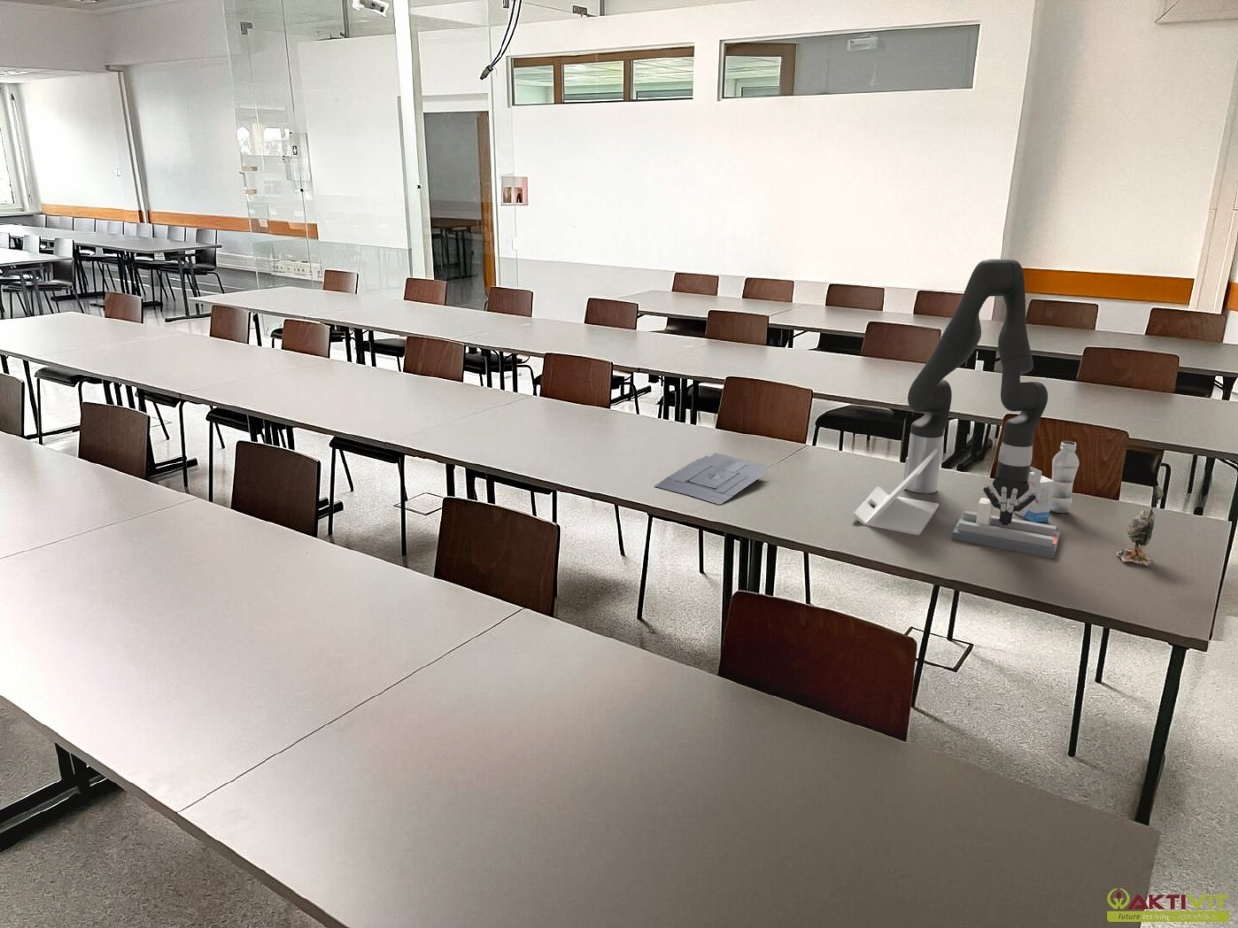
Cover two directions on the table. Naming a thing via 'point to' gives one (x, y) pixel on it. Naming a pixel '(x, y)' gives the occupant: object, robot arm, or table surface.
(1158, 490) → the plant with pod
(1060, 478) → the plastic bottle
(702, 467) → the papers
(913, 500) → the tablet stand
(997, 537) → the switch panel
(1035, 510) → the ink box
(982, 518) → the white rectangular block
